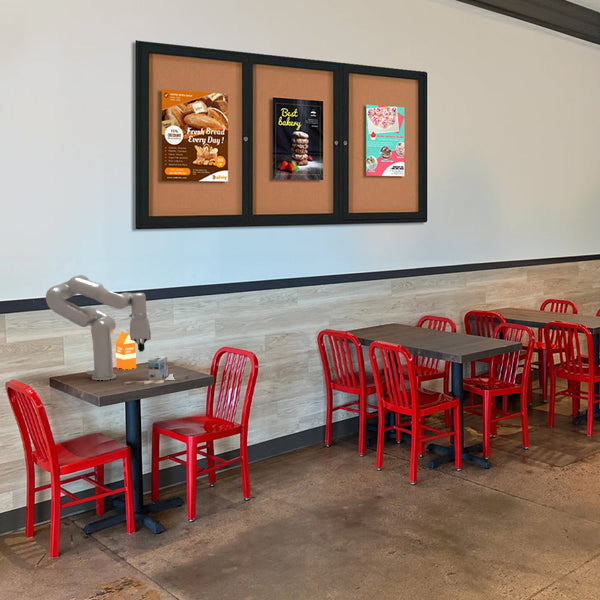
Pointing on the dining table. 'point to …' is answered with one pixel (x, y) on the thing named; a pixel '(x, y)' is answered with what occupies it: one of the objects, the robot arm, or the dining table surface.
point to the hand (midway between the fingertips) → (141, 351)
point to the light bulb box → (158, 368)
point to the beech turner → (145, 382)
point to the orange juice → (125, 352)
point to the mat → (170, 377)
